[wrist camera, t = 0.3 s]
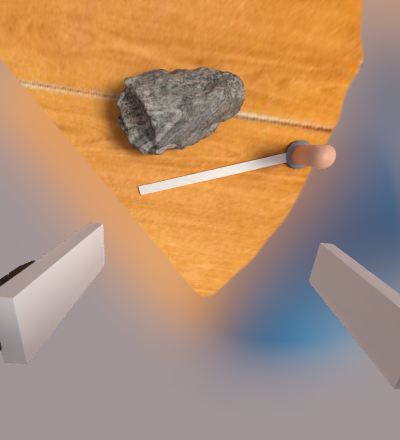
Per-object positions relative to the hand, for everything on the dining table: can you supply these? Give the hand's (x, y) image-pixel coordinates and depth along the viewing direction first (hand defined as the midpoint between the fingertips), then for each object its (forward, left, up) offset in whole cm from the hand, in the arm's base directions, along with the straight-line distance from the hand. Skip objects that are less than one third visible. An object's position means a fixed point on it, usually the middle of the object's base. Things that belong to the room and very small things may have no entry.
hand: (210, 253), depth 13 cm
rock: (-12, -1, -26) cm, 29 cm away
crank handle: (-1, +4, -26) cm, 26 cm away
